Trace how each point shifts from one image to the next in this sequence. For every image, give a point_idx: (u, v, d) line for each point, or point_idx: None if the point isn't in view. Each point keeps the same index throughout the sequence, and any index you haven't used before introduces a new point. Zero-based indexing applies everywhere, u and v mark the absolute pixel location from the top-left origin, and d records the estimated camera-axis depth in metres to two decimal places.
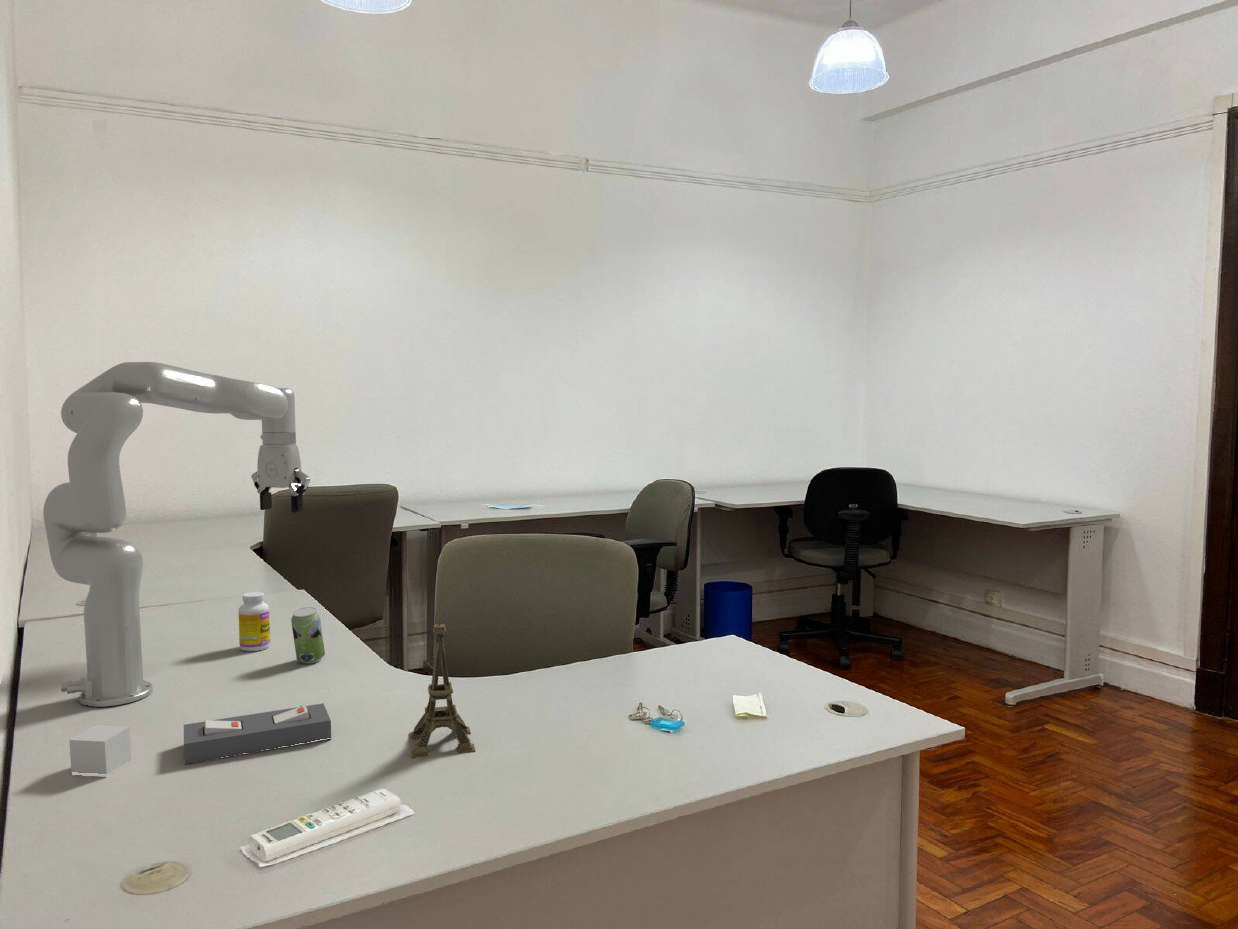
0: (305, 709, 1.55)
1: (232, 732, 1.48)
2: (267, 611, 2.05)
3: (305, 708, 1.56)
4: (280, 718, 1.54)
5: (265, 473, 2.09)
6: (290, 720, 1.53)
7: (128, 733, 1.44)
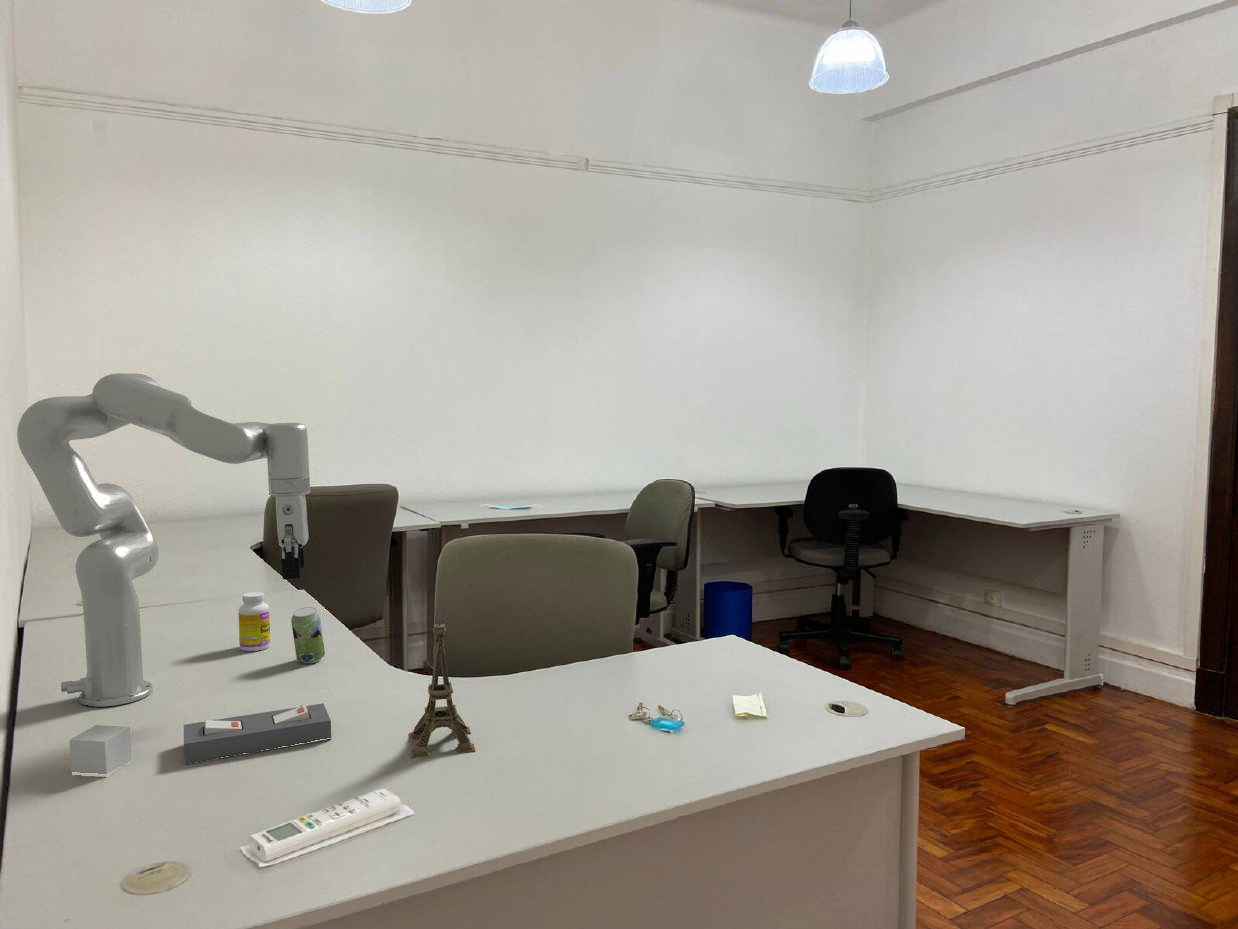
0: (305, 709, 1.55)
1: (232, 732, 1.48)
2: (267, 611, 2.05)
3: (305, 708, 1.56)
4: (280, 718, 1.54)
5: (305, 527, 1.70)
6: (290, 720, 1.53)
7: (128, 733, 1.44)
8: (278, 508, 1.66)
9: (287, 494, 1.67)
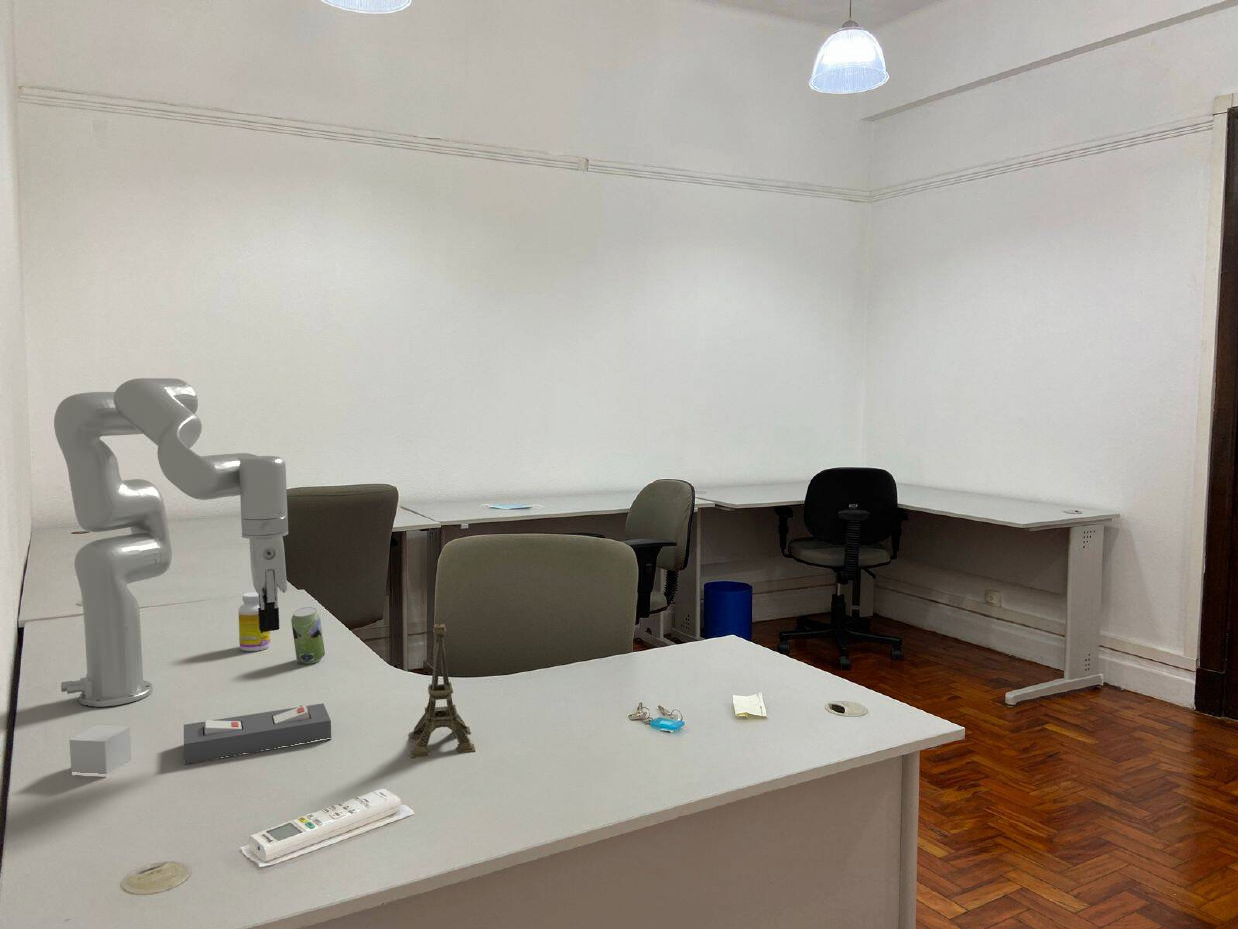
0: (305, 709, 1.55)
1: (232, 732, 1.48)
2: None
3: (305, 708, 1.56)
4: (280, 718, 1.54)
5: None
6: (290, 720, 1.53)
7: (128, 733, 1.44)
8: (257, 552, 1.49)
9: (267, 536, 1.50)
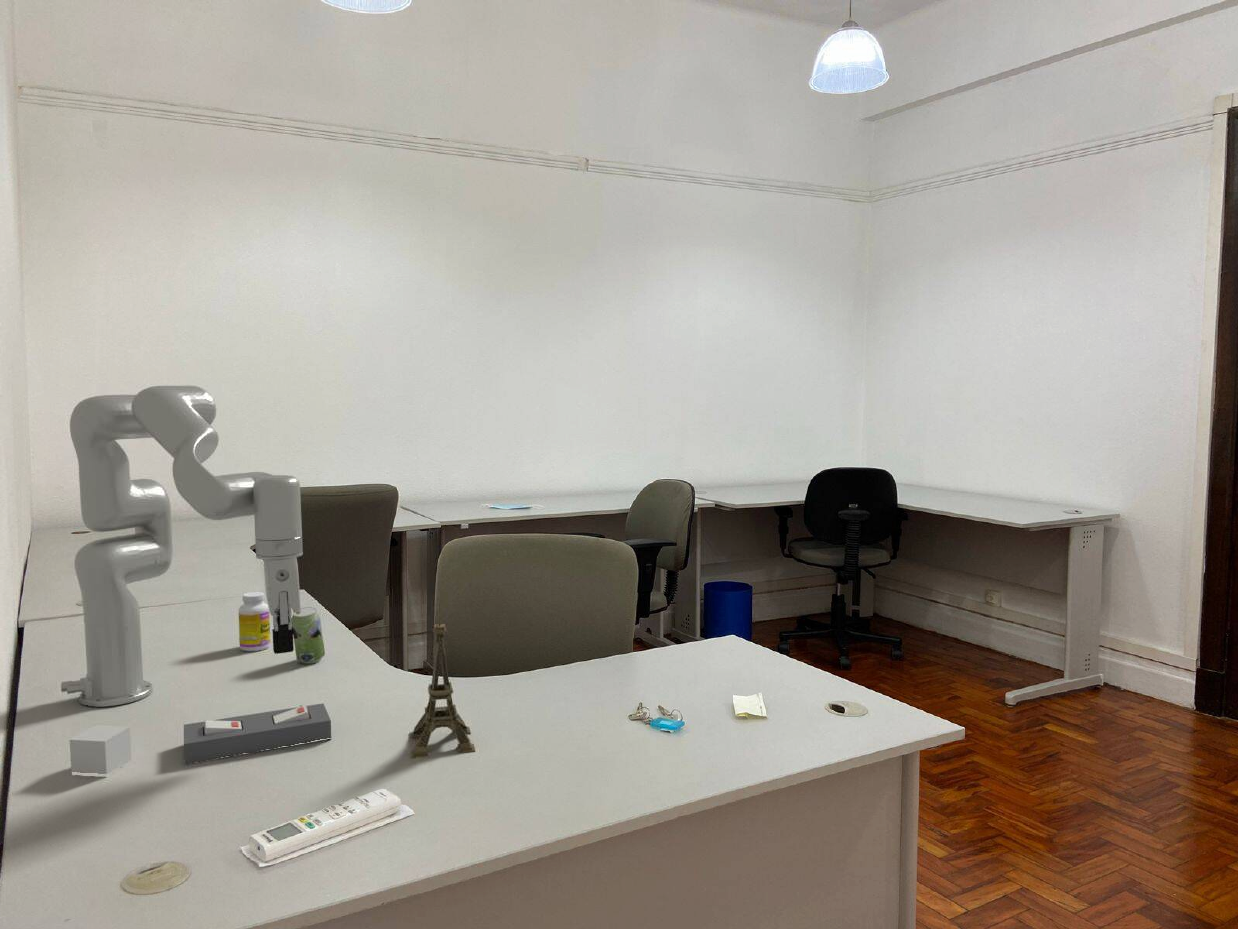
0: (305, 709, 1.55)
1: (232, 732, 1.48)
2: (267, 611, 2.05)
3: (305, 708, 1.56)
4: (280, 718, 1.54)
5: None
6: (290, 720, 1.53)
7: (128, 733, 1.44)
8: (271, 574, 1.47)
9: (280, 557, 1.48)
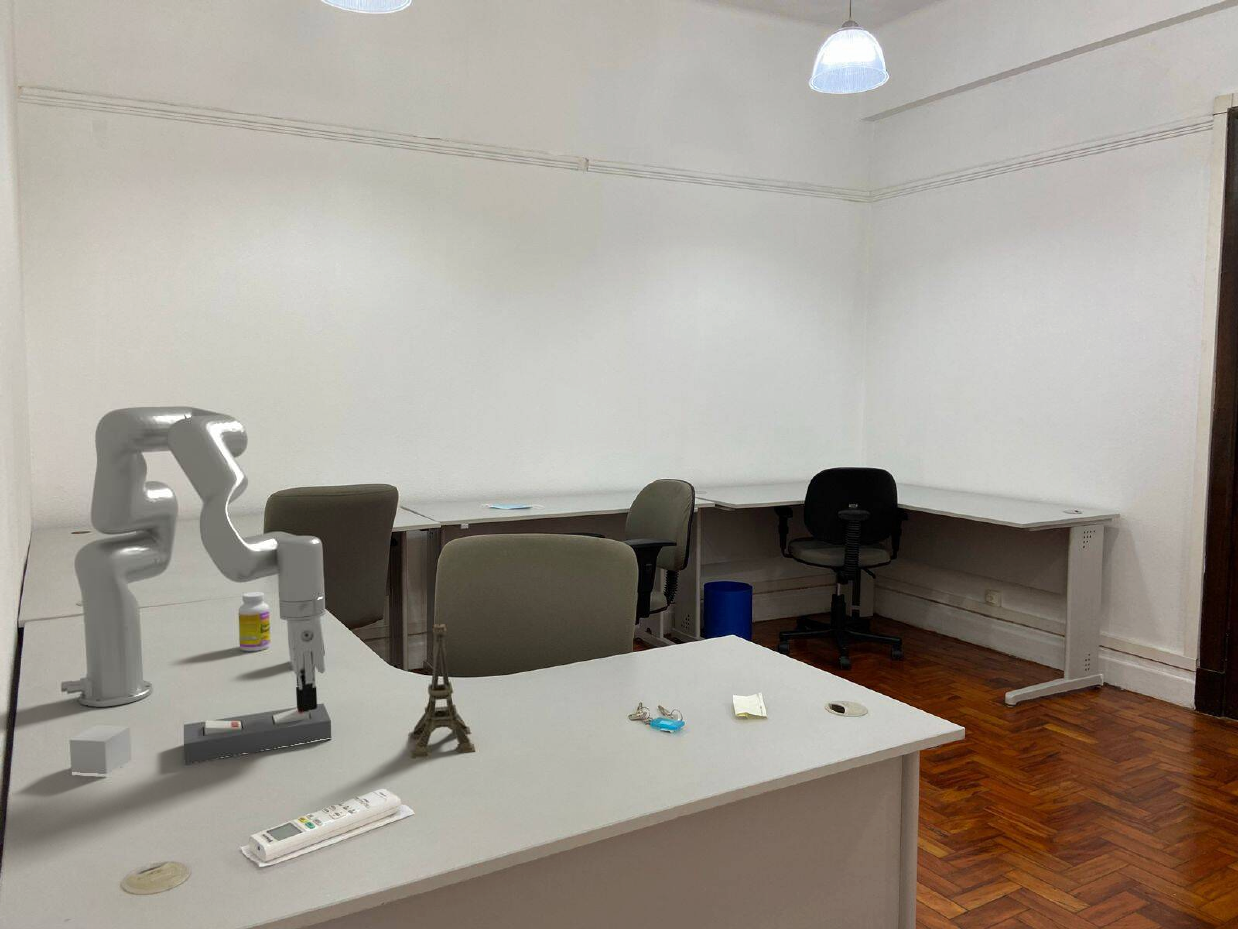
0: None
1: (232, 732, 1.48)
2: (267, 611, 2.05)
3: None
4: (280, 717, 1.54)
5: None
6: (290, 720, 1.53)
7: (128, 733, 1.44)
8: (295, 634, 1.50)
9: (305, 618, 1.51)
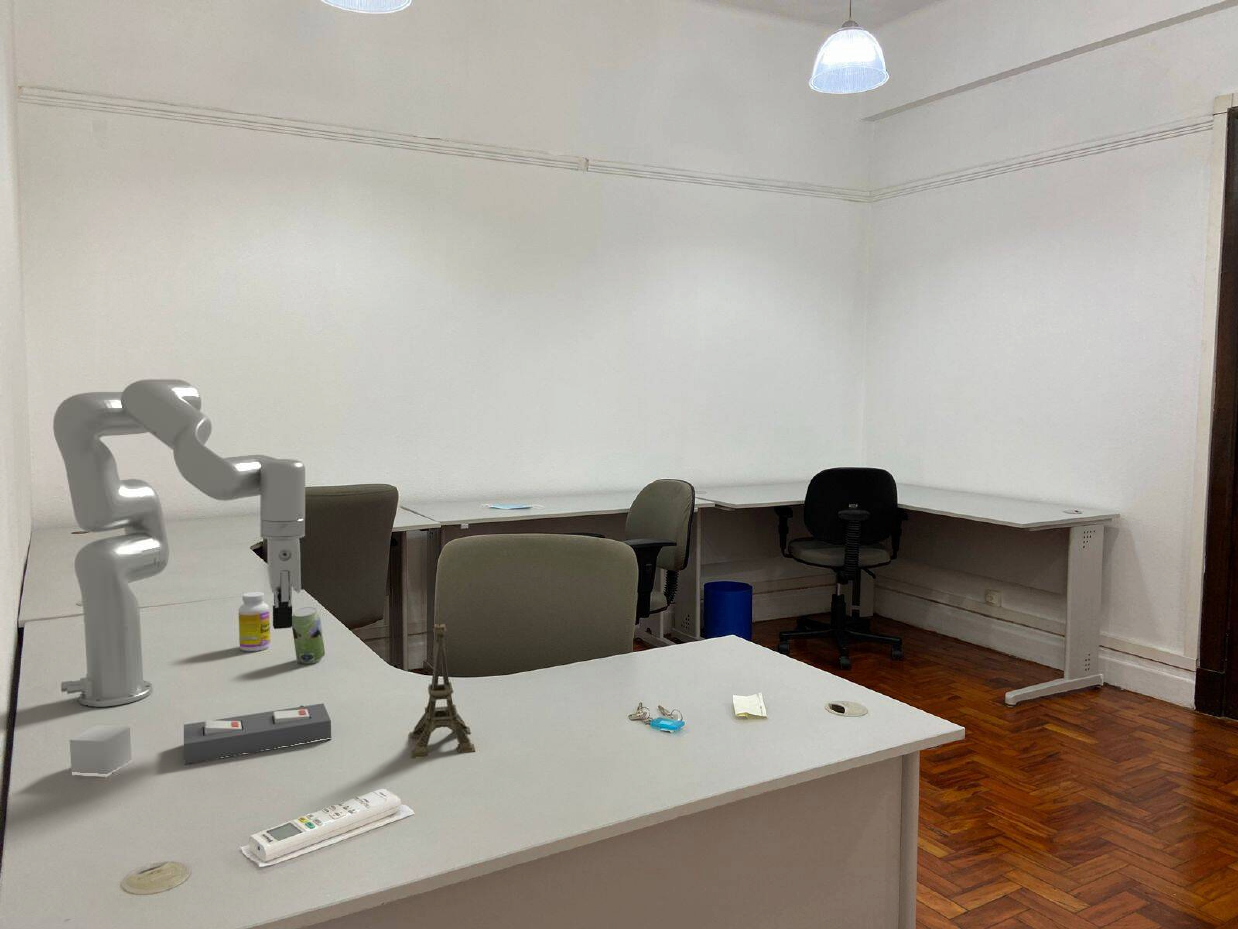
0: (306, 713, 1.56)
1: (232, 732, 1.48)
2: (267, 611, 2.05)
3: (306, 712, 1.56)
4: (281, 715, 1.54)
5: None
6: (290, 719, 1.53)
7: (128, 733, 1.44)
8: (274, 553, 1.54)
9: (284, 538, 1.55)
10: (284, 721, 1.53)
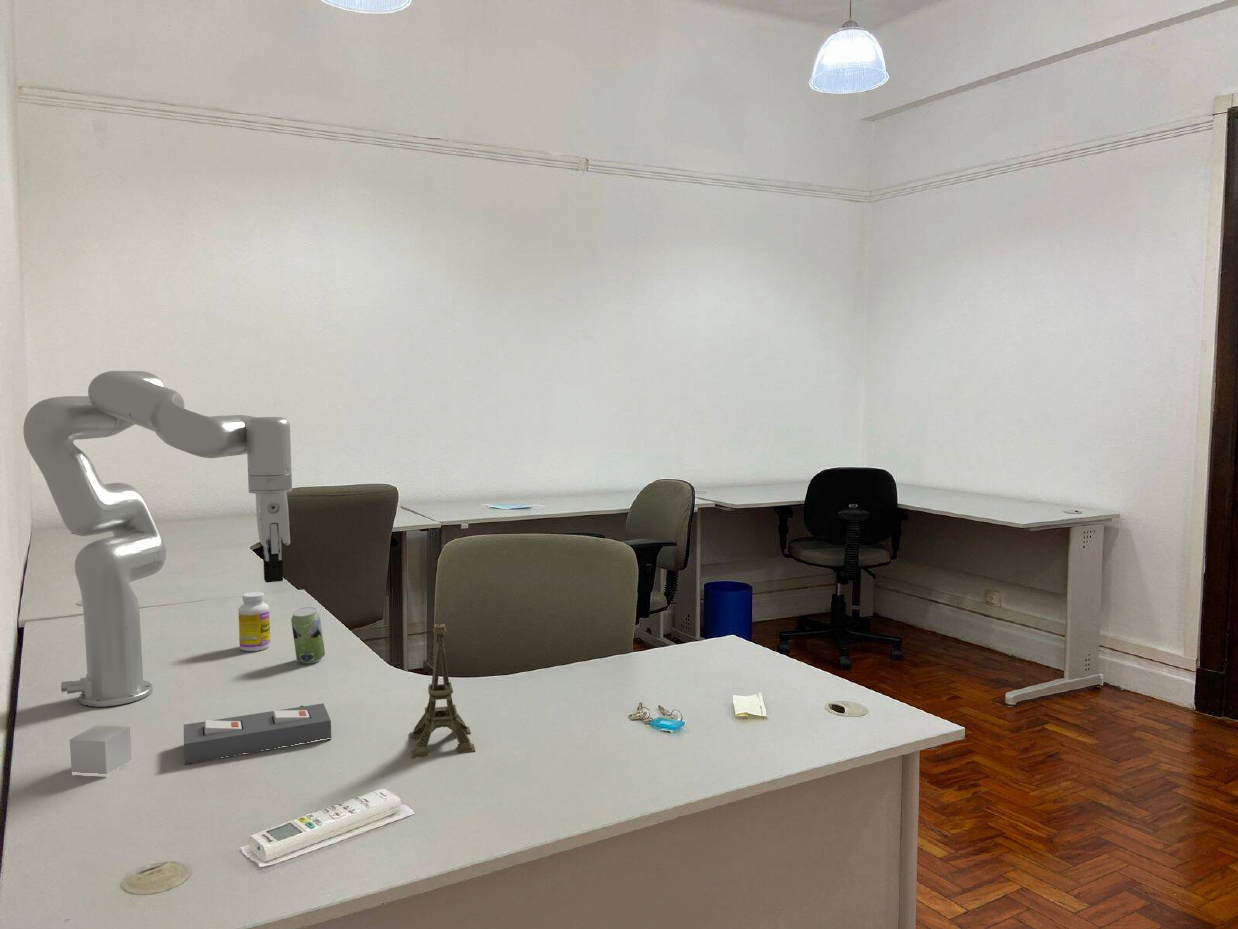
0: (307, 714, 1.56)
1: (232, 732, 1.48)
2: (267, 611, 2.05)
3: (307, 713, 1.56)
4: (281, 714, 1.54)
5: None
6: (290, 719, 1.53)
7: (128, 733, 1.44)
8: (262, 506, 1.59)
9: (271, 491, 1.60)
10: (284, 720, 1.53)
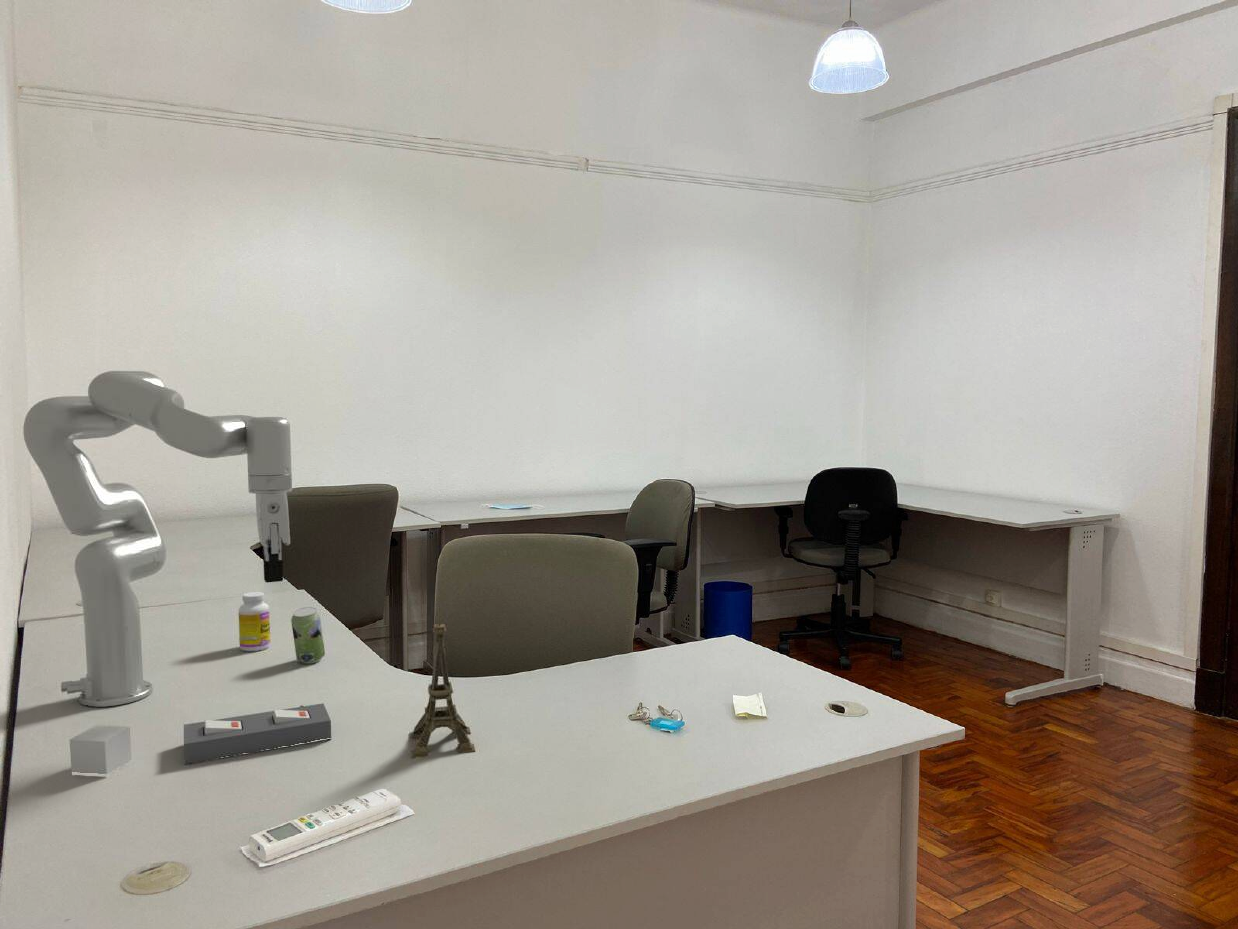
0: (307, 714, 1.56)
1: (232, 732, 1.48)
2: (267, 611, 2.05)
3: (307, 714, 1.56)
4: (281, 714, 1.54)
5: None
6: (290, 719, 1.53)
7: (128, 733, 1.44)
8: (262, 506, 1.59)
9: (271, 491, 1.60)
10: (284, 720, 1.53)
